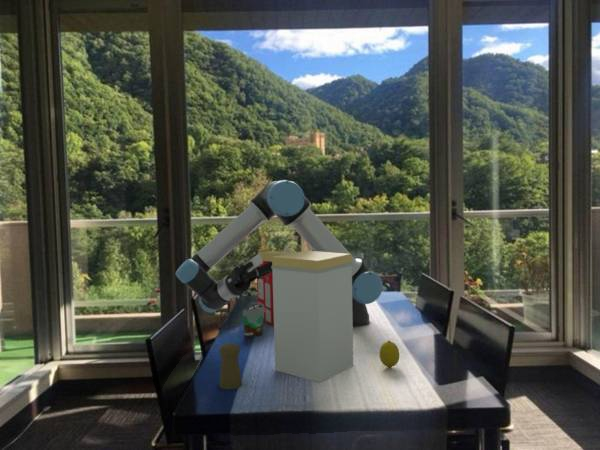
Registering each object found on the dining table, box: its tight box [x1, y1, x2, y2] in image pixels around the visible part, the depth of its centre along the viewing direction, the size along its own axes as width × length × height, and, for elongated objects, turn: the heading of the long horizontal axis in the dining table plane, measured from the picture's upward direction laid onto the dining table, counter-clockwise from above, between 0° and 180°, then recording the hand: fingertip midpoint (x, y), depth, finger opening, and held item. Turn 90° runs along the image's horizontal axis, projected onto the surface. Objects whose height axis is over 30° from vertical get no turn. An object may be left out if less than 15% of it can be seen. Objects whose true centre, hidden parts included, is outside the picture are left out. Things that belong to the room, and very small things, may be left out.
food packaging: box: [256, 261, 274, 327], centre depth 204 cm, size 15×5×25 cm, turn 26°
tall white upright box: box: [271, 263, 354, 383], centre depth 150 cm, size 16×16×30 cm
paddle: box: [257, 247, 353, 270], centre depth 152 cm, size 27×16×3 cm, turn 51°
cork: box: [219, 342, 243, 390], centre depth 139 cm, size 6×6×11 cm
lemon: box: [379, 340, 400, 369], centre depth 149 cm, size 6×6×8 cm
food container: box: [242, 302, 265, 338], centre depth 187 cm, size 12×6×10 cm, turn 168°
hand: (276, 255), depth 156 cm, fingers open, 13 cm apart
